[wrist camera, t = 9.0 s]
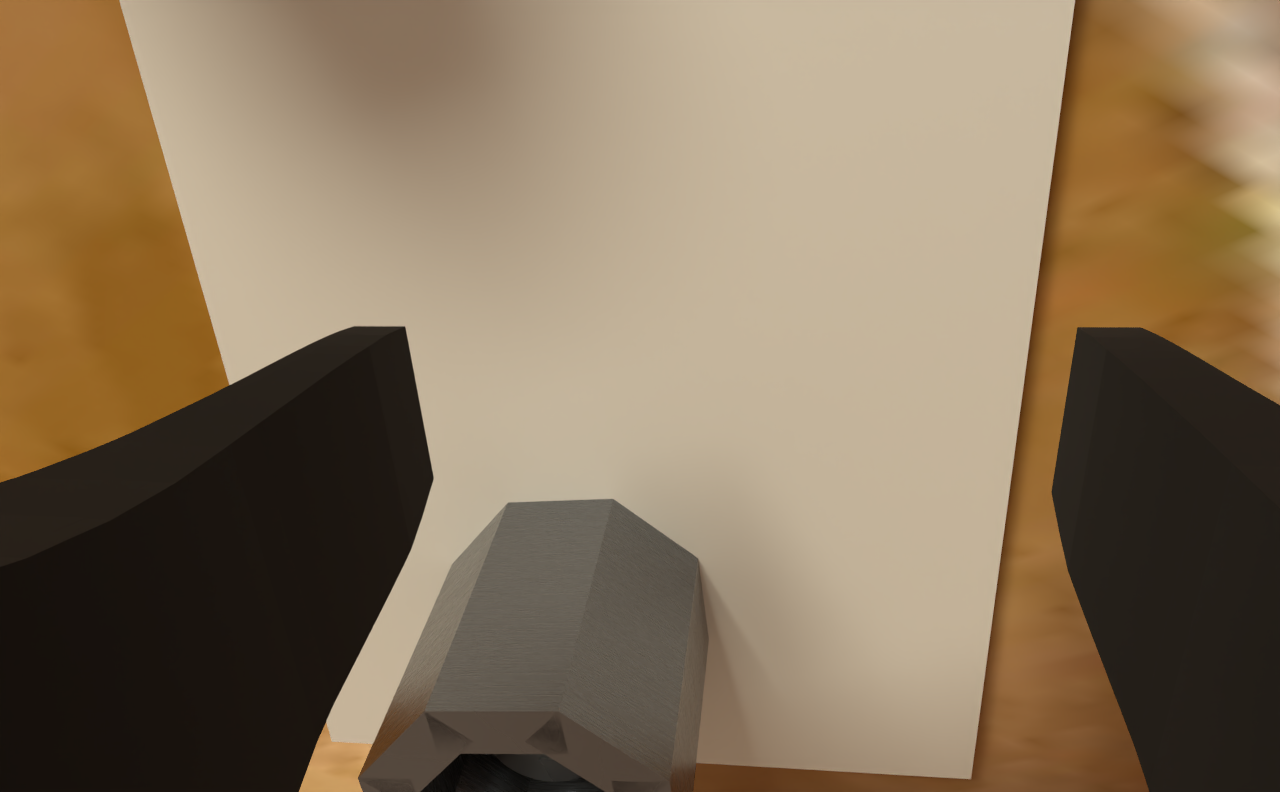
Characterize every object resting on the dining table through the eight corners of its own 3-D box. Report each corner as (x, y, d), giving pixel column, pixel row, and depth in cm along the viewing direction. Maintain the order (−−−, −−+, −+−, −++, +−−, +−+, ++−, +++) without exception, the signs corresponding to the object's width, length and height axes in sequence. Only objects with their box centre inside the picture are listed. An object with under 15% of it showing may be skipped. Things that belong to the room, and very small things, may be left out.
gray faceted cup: (689, 495, 22) (658, 711, 17) (715, 692, 25) (694, 928, 20) (435, 505, 23) (333, 711, 18) (486, 692, 26) (410, 918, 21)
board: (1099, -330, 16) (1119, -337, 15) (964, 740, 26) (970, 779, 25) (91, -249, 18) (47, -250, 17) (348, 707, 29) (331, 741, 28)
